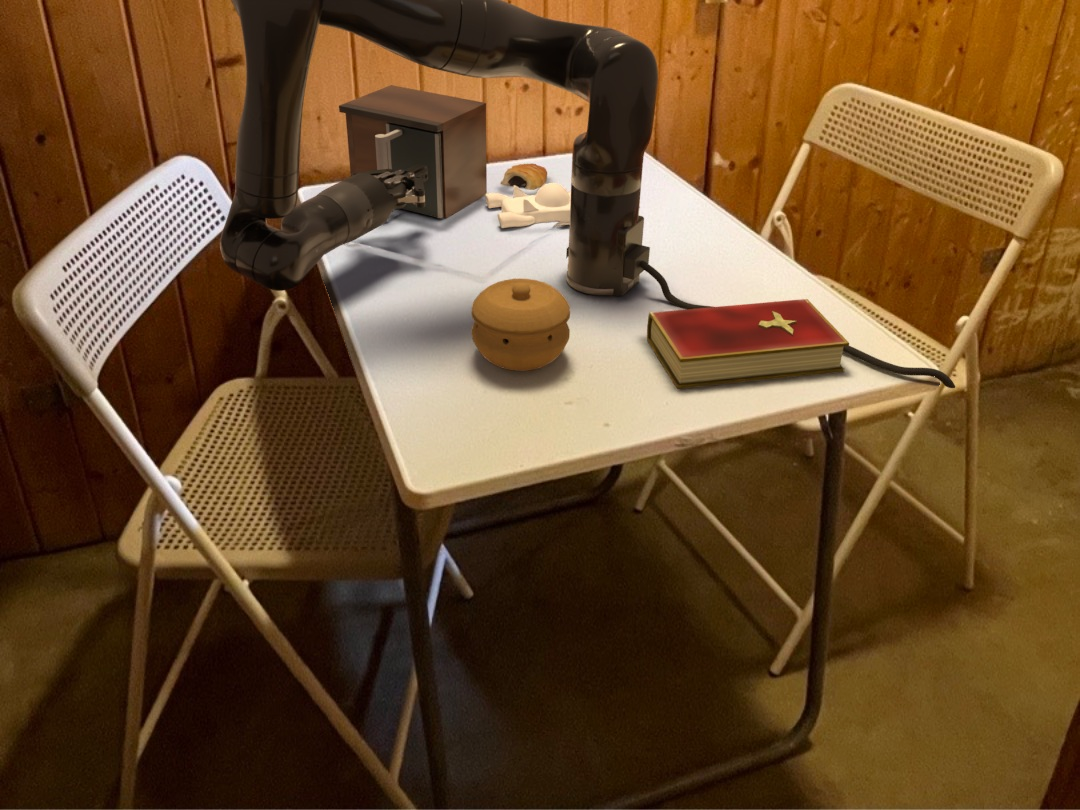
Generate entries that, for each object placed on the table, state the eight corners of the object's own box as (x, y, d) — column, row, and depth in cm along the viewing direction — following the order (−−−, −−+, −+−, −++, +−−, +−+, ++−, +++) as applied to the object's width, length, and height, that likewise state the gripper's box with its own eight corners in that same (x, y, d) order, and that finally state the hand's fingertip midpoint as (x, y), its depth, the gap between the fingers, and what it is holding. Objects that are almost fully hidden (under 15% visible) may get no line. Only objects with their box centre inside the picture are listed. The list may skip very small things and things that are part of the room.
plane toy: (625, 226, 157) (627, 190, 154) (500, 238, 152) (500, 202, 149) (603, 201, 165) (605, 167, 162) (484, 212, 161) (484, 177, 157)
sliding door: (420, 231, 150) (416, 144, 143) (369, 218, 154) (362, 133, 147) (443, 217, 155) (440, 133, 148) (393, 204, 159) (388, 122, 152)
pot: (525, 325, 130) (526, 253, 124) (588, 361, 122) (592, 287, 117) (452, 354, 123) (449, 280, 117) (514, 394, 116) (515, 317, 110)
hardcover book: (646, 338, 127) (648, 309, 125) (800, 324, 131) (806, 295, 129) (677, 388, 117) (680, 357, 115) (843, 371, 121) (849, 340, 119)
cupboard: (441, 229, 155) (437, 125, 146) (347, 205, 162) (338, 105, 153) (486, 201, 165) (486, 102, 156) (396, 180, 172) (391, 84, 163)
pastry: (520, 173, 176) (521, 152, 174) (556, 179, 174) (557, 158, 172) (498, 191, 168) (498, 169, 166) (535, 198, 166) (536, 175, 164)
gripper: (388, 192, 130) (461, 154, 143) (307, 173, 135) (384, 138, 148) (391, 246, 134) (462, 204, 147) (313, 225, 139) (387, 187, 152)
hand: (423, 171), depth 147 cm, fingers closed
